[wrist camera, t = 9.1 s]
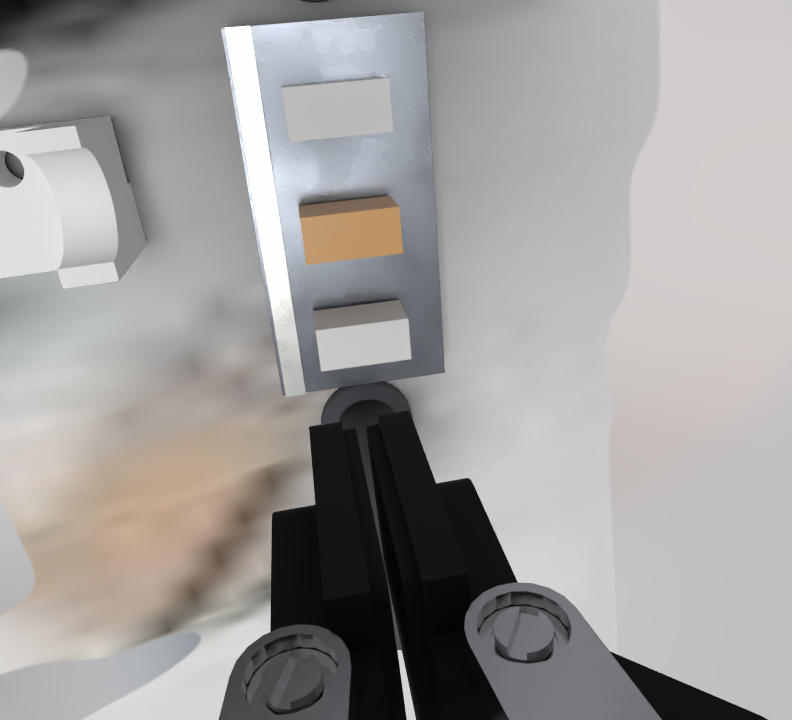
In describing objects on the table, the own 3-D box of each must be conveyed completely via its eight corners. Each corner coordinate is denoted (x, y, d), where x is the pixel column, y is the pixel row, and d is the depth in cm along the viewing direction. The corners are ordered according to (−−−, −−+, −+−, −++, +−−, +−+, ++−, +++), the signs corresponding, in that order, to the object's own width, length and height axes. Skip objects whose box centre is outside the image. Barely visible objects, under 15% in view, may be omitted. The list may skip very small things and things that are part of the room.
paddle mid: (298, 205, 37) (299, 218, 34) (390, 195, 37) (399, 206, 34) (304, 249, 38) (306, 265, 35) (394, 238, 38) (403, 253, 35)
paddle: (281, 85, 34) (281, 87, 31) (380, 76, 35) (389, 77, 32) (288, 136, 35) (288, 142, 32) (384, 126, 36) (393, 131, 33)
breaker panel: (225, 31, 36) (220, 28, 33) (414, 15, 37) (424, 11, 34) (282, 376, 44) (282, 397, 41) (435, 355, 45) (445, 374, 42)
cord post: (315, 385, 44) (335, 572, 28) (406, 373, 45) (477, 548, 29) (327, 464, 47) (351, 678, 30) (413, 451, 47) (481, 653, 31)
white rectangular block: (313, 310, 39) (315, 330, 36) (398, 300, 40) (408, 318, 37) (318, 349, 40) (321, 371, 37) (402, 338, 41) (411, 359, 38)
